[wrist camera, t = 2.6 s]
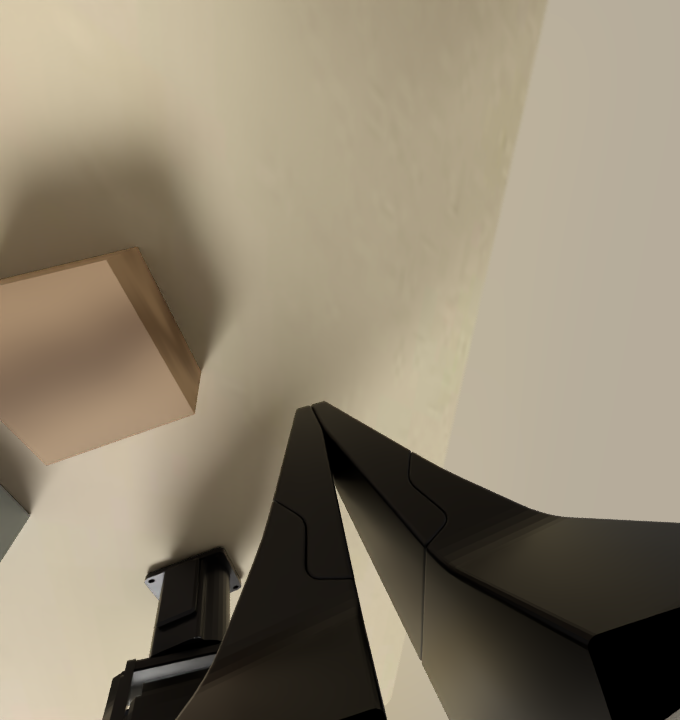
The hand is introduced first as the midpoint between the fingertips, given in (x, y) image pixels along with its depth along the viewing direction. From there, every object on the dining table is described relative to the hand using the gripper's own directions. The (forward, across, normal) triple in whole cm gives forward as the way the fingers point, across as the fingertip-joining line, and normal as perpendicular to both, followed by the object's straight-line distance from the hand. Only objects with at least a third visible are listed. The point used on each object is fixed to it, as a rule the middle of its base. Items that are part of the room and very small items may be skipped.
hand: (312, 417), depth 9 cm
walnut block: (+13, +9, 0) cm, 16 cm away
